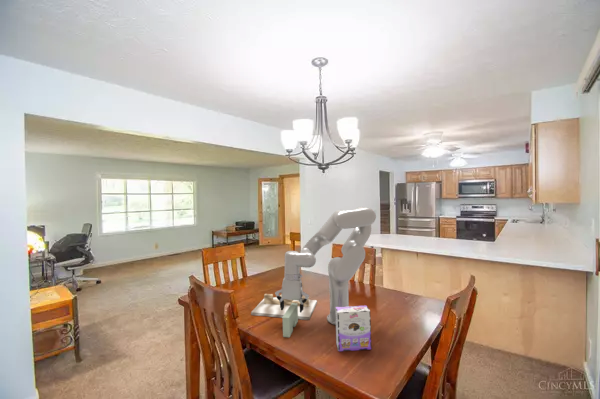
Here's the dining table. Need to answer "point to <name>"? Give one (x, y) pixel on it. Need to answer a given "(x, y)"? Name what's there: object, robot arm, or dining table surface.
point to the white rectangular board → (272, 307)
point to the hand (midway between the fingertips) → (291, 310)
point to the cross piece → (290, 319)
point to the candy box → (353, 328)
